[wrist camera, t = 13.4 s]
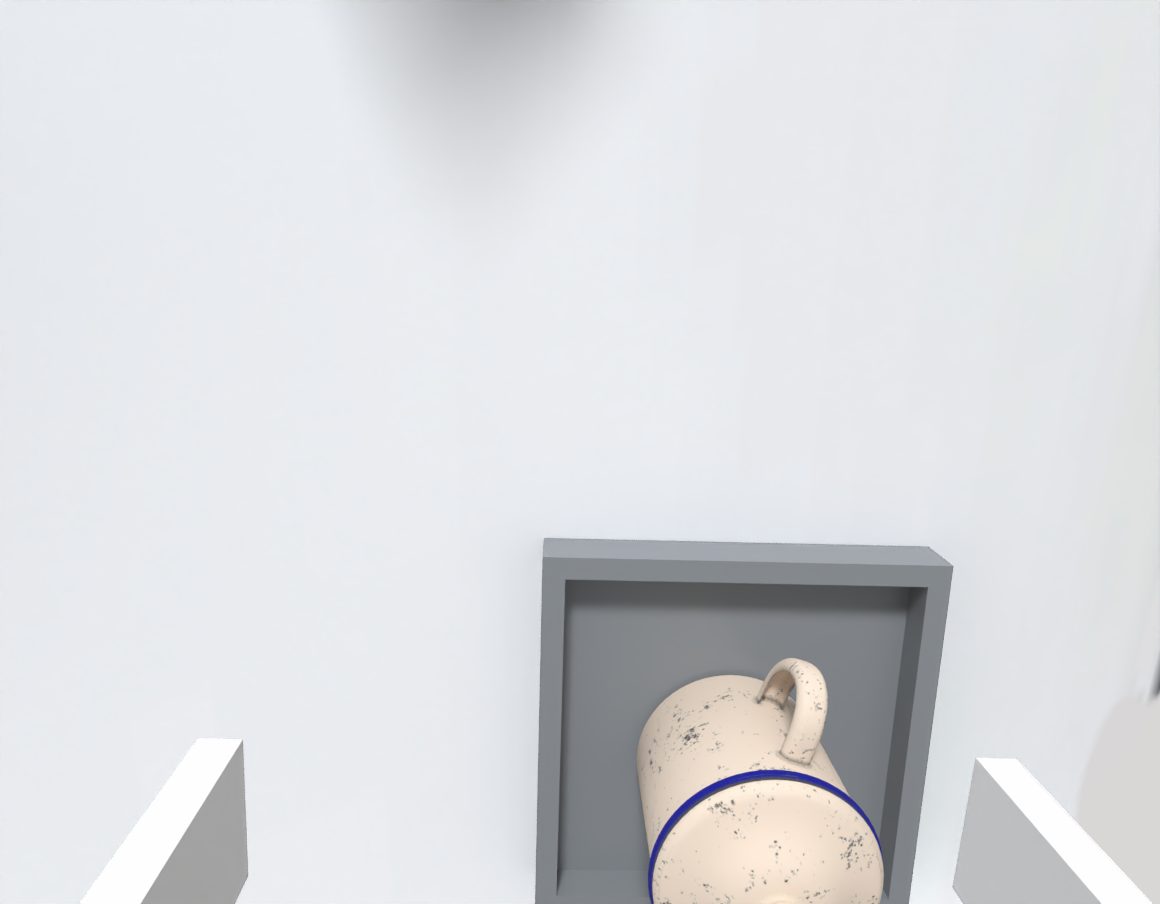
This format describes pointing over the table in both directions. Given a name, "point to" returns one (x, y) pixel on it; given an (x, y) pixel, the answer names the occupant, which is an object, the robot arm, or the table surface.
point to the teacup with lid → (751, 797)
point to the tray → (726, 647)
